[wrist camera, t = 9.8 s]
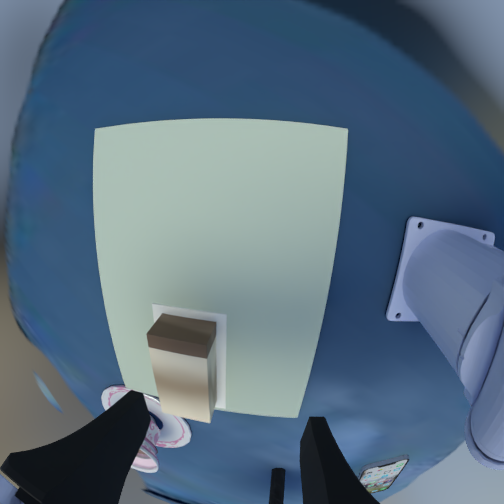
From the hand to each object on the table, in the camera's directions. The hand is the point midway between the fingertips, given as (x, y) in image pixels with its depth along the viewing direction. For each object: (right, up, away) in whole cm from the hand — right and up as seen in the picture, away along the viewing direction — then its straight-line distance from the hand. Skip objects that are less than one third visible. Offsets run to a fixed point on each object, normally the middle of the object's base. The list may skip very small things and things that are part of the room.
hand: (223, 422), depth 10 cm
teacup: (-12, -13, +17) cm, 24 cm away
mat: (-2, +4, +10) cm, 11 cm away
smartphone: (+21, -29, +18) cm, 40 cm away
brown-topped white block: (-4, -2, +11) cm, 12 cm away
